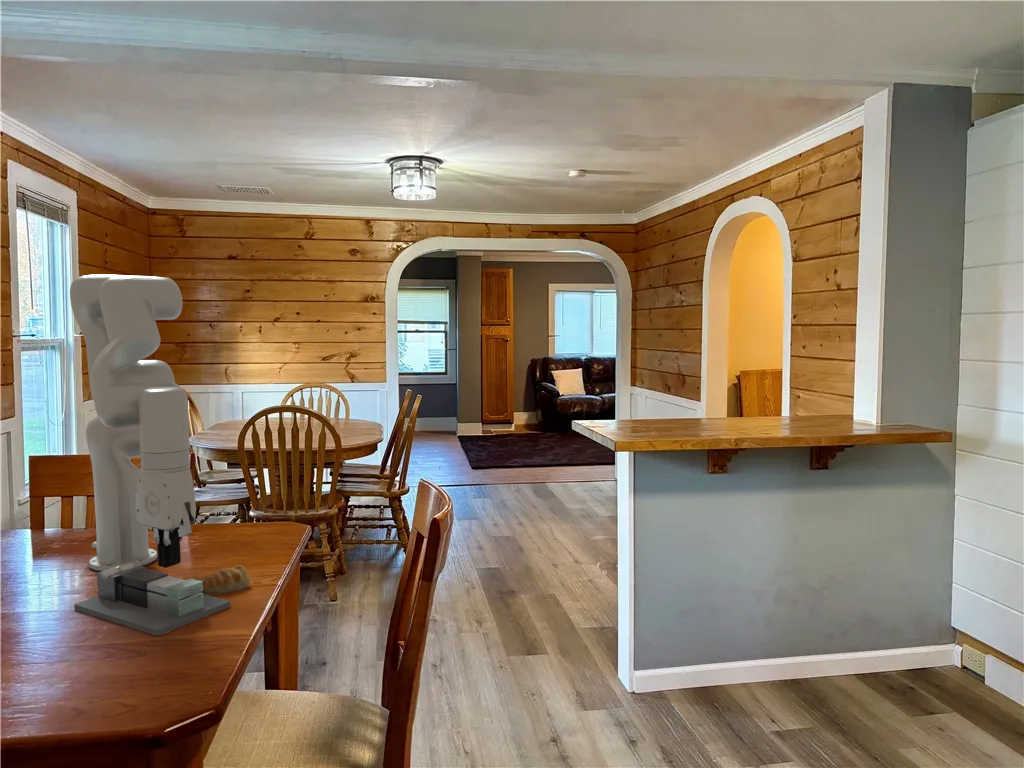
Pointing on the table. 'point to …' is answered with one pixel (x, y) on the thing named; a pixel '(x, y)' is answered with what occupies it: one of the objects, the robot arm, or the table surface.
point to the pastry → (226, 580)
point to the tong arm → (162, 583)
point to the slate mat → (146, 614)
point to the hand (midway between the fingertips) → (169, 564)
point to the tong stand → (144, 593)
